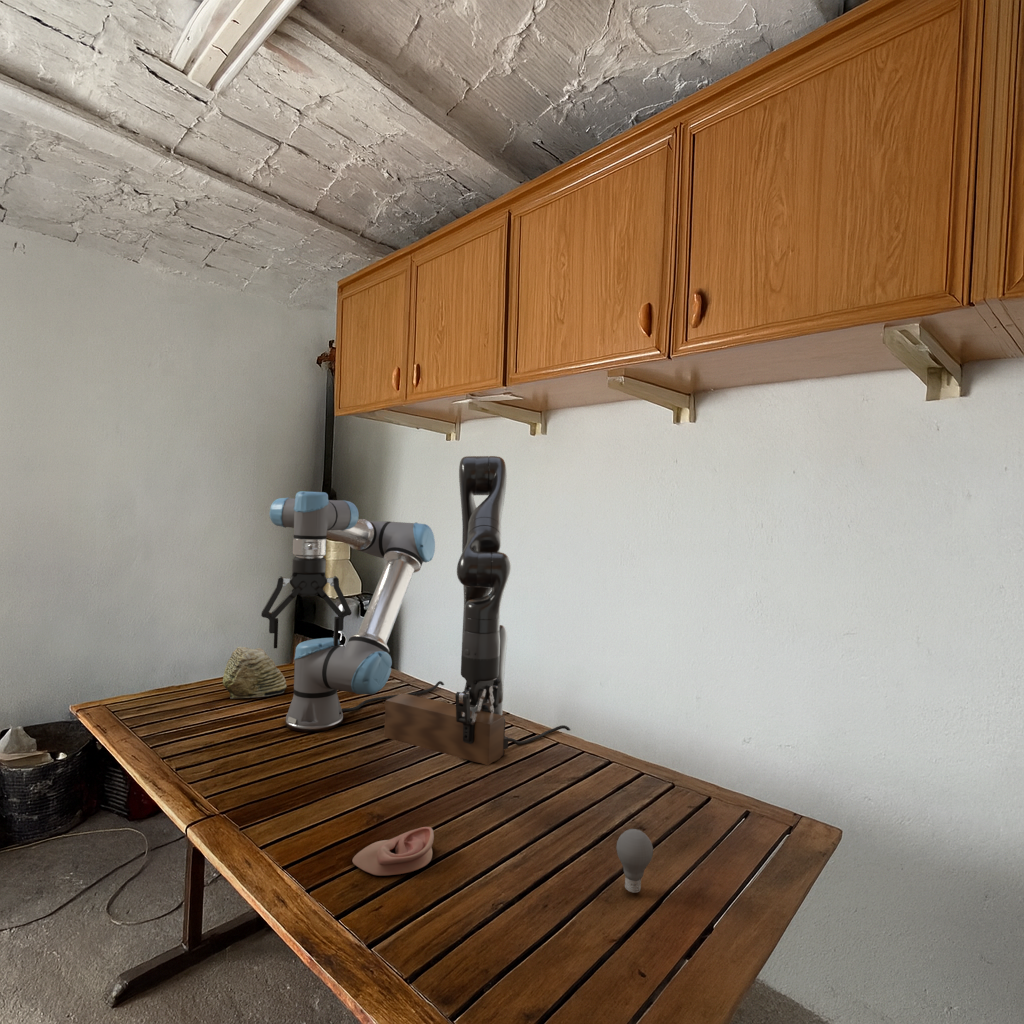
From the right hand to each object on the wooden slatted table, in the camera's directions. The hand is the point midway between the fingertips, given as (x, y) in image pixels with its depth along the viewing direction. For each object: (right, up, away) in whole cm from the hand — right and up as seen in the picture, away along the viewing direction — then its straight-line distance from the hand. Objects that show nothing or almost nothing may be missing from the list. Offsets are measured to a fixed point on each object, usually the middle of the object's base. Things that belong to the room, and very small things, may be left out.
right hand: (477, 737), depth 125 cm
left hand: (-42, +13, +25) cm, 51 cm away
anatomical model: (-14, -17, -13) cm, 26 cm away
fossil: (-74, -13, +73) cm, 105 cm away
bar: (-7, -3, +4) cm, 9 cm away
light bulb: (+27, -19, -19) cm, 38 cm away
